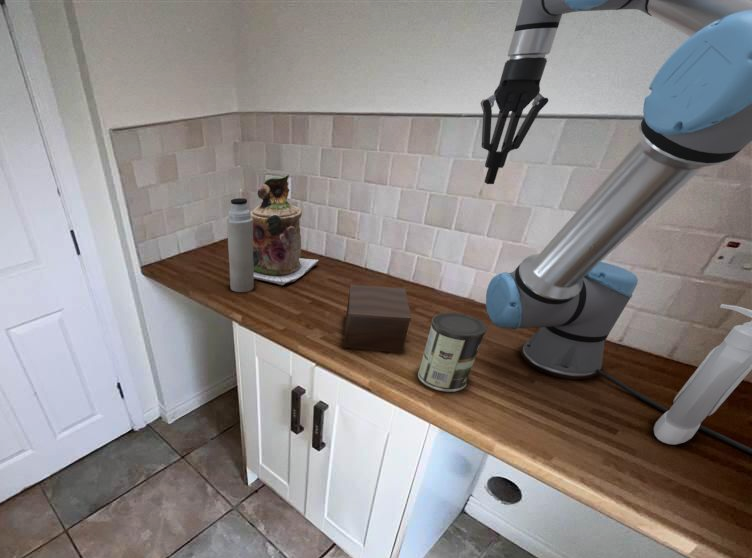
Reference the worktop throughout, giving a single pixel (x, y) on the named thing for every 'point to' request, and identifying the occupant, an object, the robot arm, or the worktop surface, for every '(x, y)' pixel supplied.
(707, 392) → the soap bottle
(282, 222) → the cookie jar
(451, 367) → the coffee can
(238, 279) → the thermos bottle
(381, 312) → the lid
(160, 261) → the worktop surface
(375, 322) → the chest
